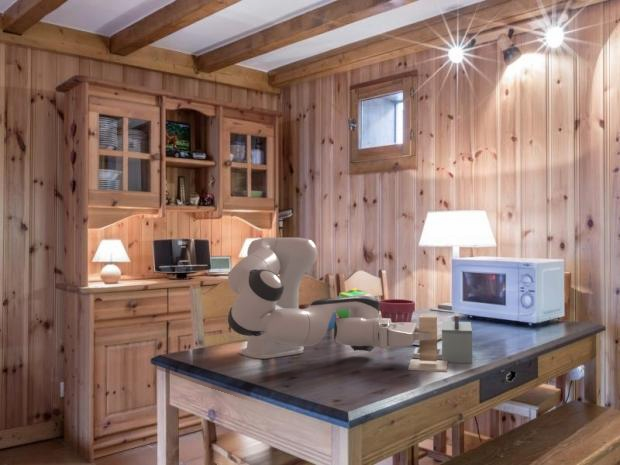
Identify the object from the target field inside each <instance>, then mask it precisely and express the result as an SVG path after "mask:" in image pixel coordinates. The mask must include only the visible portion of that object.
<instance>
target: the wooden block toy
mask: <svg viewBox="0 0 620 465" xmlns="http://www.w3.org/2000/svg"><path fill="white" fill-rule="evenodd" d="M459 318H460V317H459V310H454V321H449V320H448V321H447V320H446V321H445V320H444V321H442V326H441V348H439V347H437V360H442V361H447V363H455V364H458V363H459V364H473V329H472V323H471V321H460V320H459ZM413 359H420V356H419V347H414V351H413Z"/></svg>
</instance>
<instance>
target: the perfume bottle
mask: <svg viewBox="0 0 620 465" xmlns="http://www.w3.org/2000/svg"><path fill="white" fill-rule="evenodd" d="M336 320H337V313H336V311H335V312H334V314H333V316H332V318H331V320H330V323H329V326H328V329H327V330H329V329H330V330H331V329H334V324H335V321H336Z"/></svg>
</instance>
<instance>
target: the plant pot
mask: <svg viewBox="0 0 620 465" xmlns="http://www.w3.org/2000/svg"><path fill="white" fill-rule="evenodd" d="M378 301H379V302H380V310H379V312H380V315H381V318H390V319H391V322H392V323H399V322H412V317H413V313H414V312H415V311H416V301H414V300H410V299H403V298H401V299H399V298H390V299H389V298H387V299H380V300H378Z"/></svg>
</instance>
